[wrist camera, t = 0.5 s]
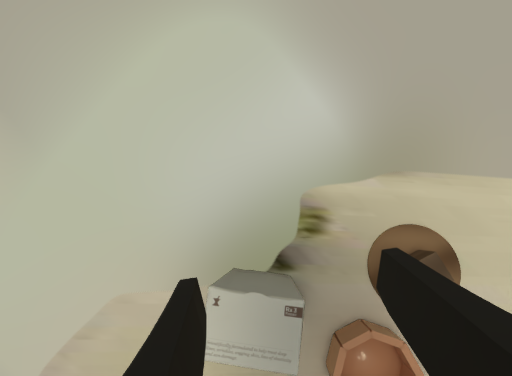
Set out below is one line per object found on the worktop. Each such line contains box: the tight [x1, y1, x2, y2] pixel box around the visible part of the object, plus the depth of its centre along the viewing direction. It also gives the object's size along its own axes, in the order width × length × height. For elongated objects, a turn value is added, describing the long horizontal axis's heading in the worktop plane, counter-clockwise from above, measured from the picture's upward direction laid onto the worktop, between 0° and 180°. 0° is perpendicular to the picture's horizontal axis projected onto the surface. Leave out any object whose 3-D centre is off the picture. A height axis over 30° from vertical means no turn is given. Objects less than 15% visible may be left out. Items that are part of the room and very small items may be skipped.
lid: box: [368, 225, 461, 296], centre depth 32 cm, size 11×11×5 cm
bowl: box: [326, 319, 424, 376], centre depth 31 cm, size 9×9×4 cm
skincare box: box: [204, 268, 305, 376], centre depth 28 cm, size 8×6×15 cm
